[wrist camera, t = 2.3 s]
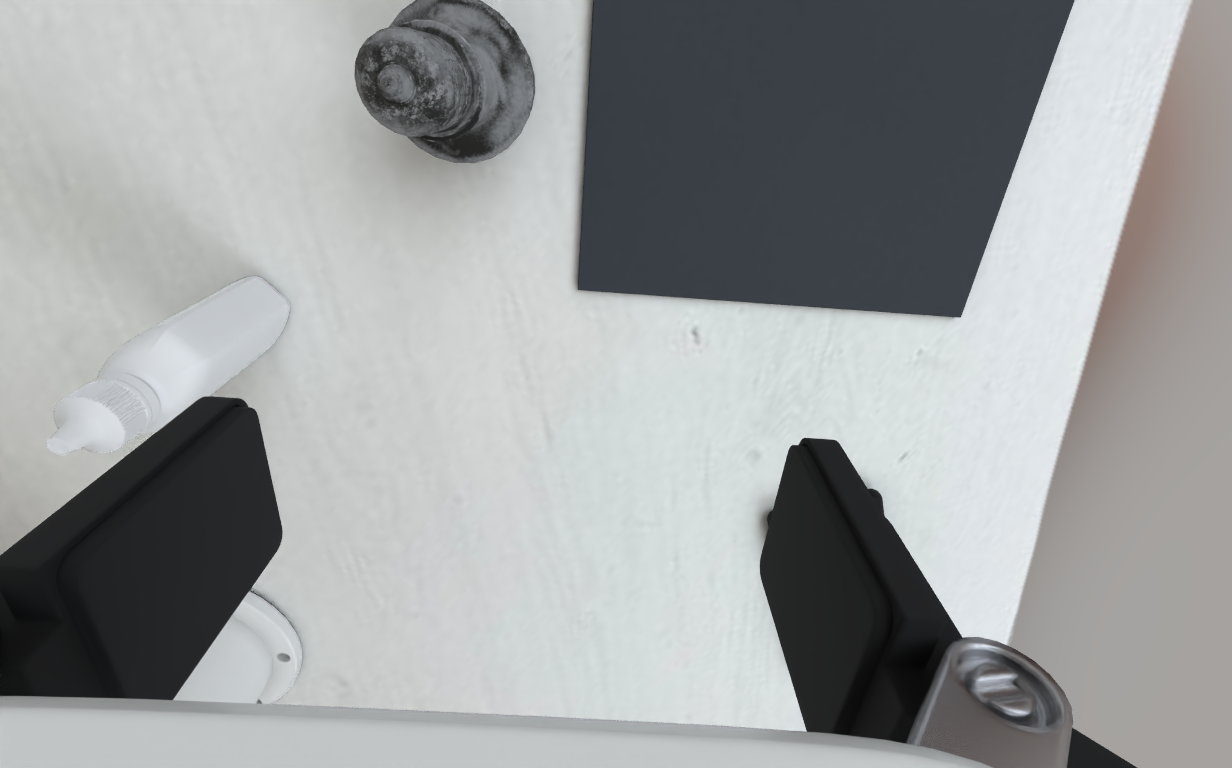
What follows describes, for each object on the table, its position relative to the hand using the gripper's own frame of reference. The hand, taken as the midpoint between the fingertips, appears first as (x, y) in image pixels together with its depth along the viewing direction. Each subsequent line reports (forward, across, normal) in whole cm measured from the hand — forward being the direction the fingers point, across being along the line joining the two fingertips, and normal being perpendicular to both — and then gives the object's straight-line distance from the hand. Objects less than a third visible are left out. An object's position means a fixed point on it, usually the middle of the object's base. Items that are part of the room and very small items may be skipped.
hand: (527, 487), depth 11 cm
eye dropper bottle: (+21, +17, +6) cm, 28 cm away
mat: (+21, -10, -6) cm, 24 cm away
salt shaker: (+21, +5, -6) cm, 22 cm away
